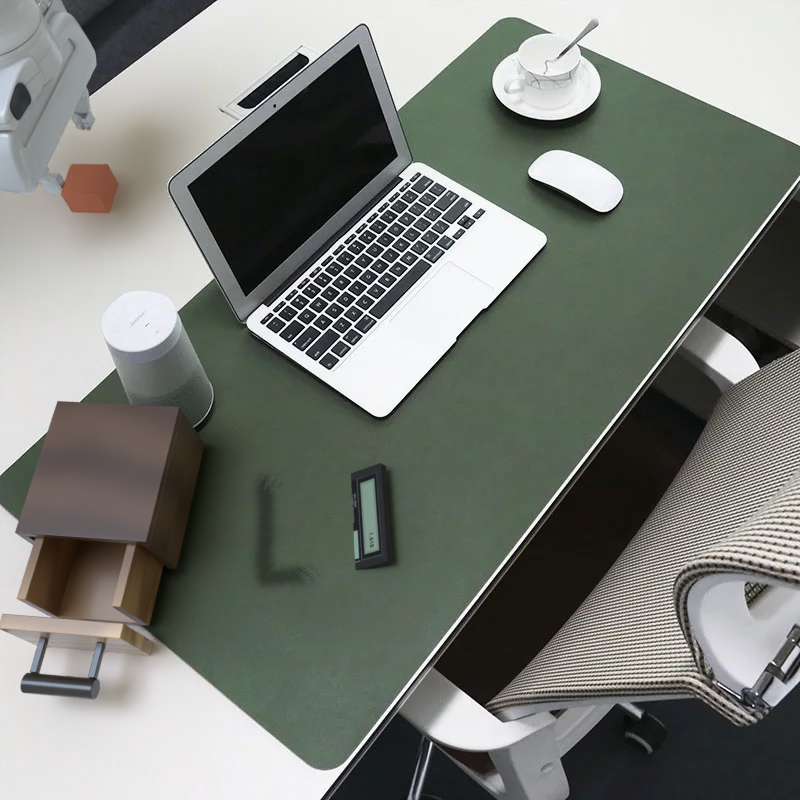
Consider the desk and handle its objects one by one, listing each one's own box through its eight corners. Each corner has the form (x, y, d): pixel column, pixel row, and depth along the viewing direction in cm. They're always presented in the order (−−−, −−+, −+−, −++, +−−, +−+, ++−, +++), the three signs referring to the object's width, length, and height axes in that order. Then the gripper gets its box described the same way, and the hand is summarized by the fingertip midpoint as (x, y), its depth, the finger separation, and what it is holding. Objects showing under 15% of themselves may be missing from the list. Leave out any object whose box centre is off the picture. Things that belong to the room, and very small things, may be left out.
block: (76, 219, 98) (59, 193, 94) (86, 190, 100) (70, 163, 97) (113, 220, 98) (97, 194, 94) (122, 191, 100) (107, 164, 96)
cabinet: (180, 573, 77) (146, 541, 69) (62, 564, 78) (14, 532, 70) (208, 448, 83) (179, 406, 75) (97, 442, 84) (57, 400, 76)
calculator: (267, 487, 80) (260, 475, 78) (388, 475, 80) (385, 462, 77) (267, 583, 76) (260, 573, 73) (395, 570, 75) (392, 560, 73)
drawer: (139, 710, 71) (105, 696, 64) (24, 699, 72) (-21, 684, 65) (180, 530, 78) (153, 502, 71) (75, 523, 79) (39, 495, 73)
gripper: (21, -19, 85) (79, 88, 98) (-64, 126, 76) (11, 225, 88) (78, -17, 84) (129, 91, 97) (-2, 131, 75) (66, 230, 87)
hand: (72, 156), depth 92 cm, fingers open, 8 cm apart
